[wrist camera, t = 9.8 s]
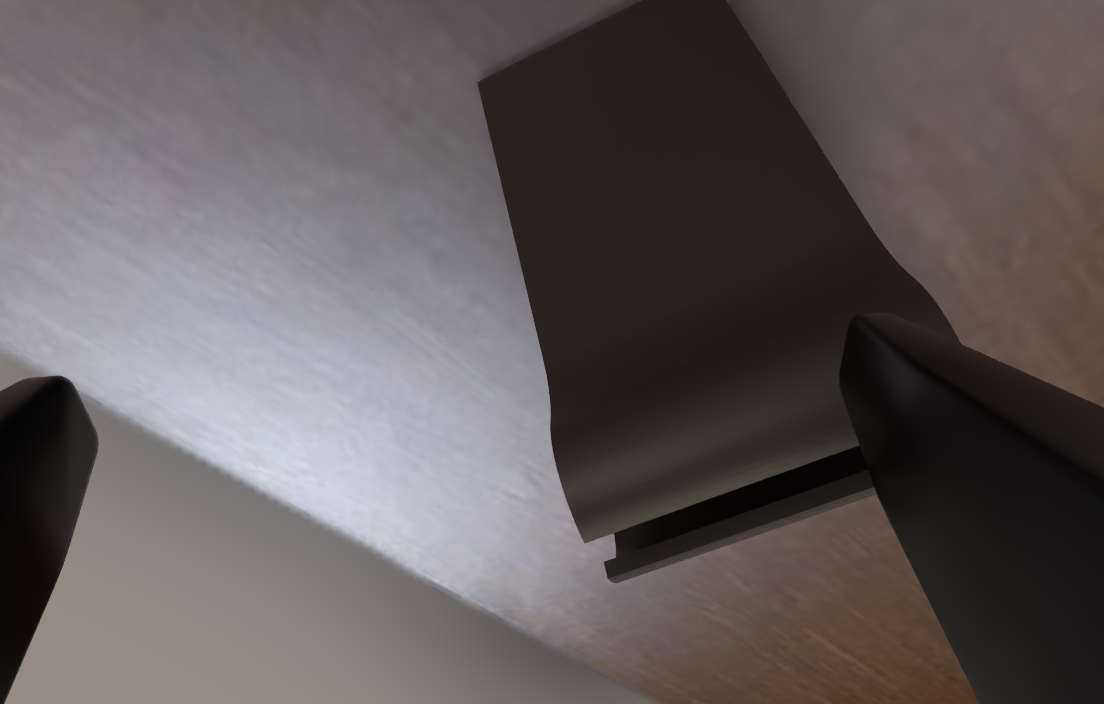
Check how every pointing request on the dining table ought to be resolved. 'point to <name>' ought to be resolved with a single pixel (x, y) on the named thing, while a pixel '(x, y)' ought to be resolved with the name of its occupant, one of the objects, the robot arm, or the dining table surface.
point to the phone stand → (687, 282)
